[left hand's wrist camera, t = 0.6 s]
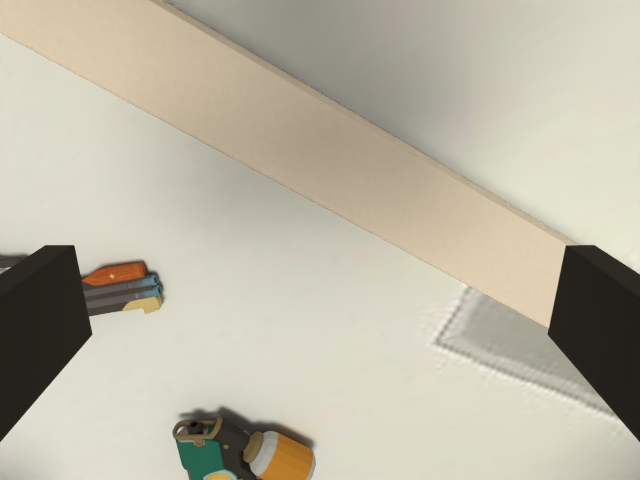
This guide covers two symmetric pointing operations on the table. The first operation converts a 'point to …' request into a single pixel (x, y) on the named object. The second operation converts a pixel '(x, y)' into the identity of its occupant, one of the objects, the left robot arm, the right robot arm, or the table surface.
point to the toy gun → (116, 288)
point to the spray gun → (240, 453)
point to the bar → (297, 140)
